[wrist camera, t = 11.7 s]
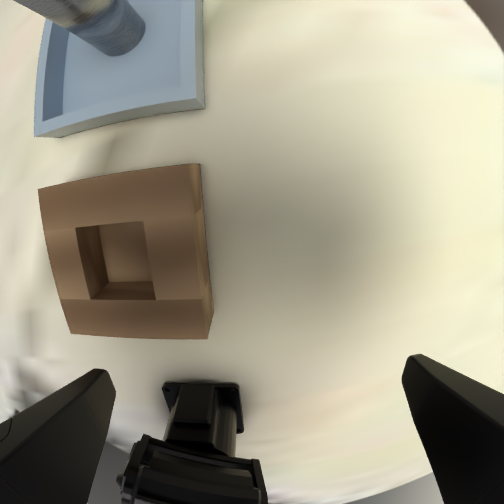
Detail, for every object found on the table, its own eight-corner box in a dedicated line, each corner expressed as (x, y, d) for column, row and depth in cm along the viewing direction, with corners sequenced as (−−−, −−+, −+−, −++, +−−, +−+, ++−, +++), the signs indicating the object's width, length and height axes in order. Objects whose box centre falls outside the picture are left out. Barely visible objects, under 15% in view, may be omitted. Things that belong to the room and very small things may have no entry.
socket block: (213, 311, 20) (207, 339, 17) (91, 311, 20) (70, 333, 17) (199, 163, 17) (187, 163, 14) (67, 183, 17) (37, 189, 14)
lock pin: (144, 49, 14) (63, -24, 5) (97, 62, 14) (2, 13, 5) (147, 9, 13) (82, -71, 4) (101, 22, 13) (21, -38, 4)
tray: (204, 108, 16) (196, 98, 13) (59, 137, 16) (34, 136, 13) (203, -40, 12) (197, -62, 10) (72, -3, 13) (55, -16, 10)
